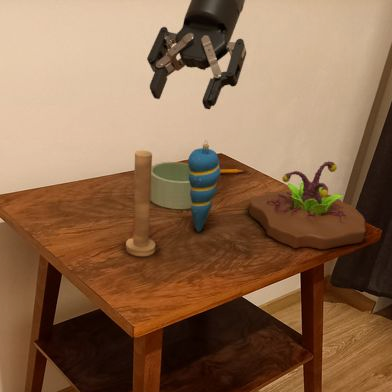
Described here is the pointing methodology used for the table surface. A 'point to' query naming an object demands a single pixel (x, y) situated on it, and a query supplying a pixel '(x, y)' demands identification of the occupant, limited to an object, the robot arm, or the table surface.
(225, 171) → the pencil
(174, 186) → the bowl
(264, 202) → the plant
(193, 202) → the ornament
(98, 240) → the table surface
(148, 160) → the stick
